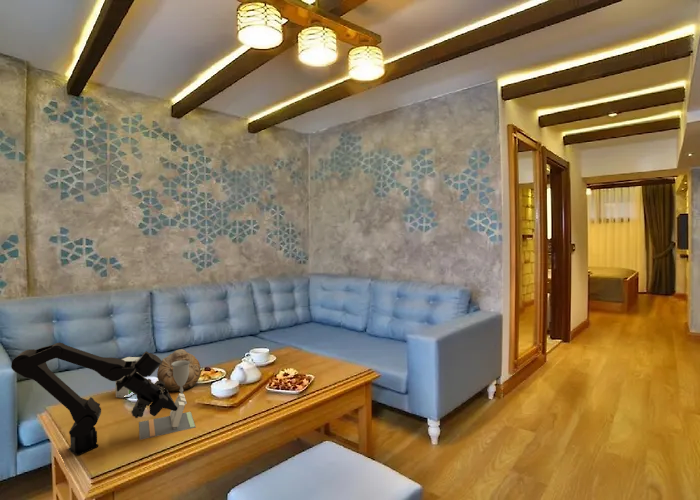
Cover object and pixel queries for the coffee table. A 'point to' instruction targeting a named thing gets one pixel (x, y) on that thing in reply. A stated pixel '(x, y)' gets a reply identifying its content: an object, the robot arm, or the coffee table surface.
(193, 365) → the buddha statue
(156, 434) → the slat rack base
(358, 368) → the coffee table surface
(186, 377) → the chalice
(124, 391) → the skincare box
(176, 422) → the handle
